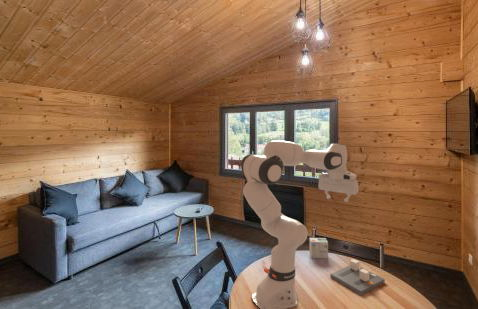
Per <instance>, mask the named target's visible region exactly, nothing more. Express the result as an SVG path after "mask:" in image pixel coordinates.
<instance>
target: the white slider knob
mask: <svg viewBox="0 0 478 309" xmlns="http://www.w3.org/2000/svg"><path fill="white" fill-rule="evenodd" d="M349 266H350V268H351V269H353V270H355V271H357V270H359V267H360V261H359V260H357V259H354V258H353V259H351V260H350V261H349Z"/></svg>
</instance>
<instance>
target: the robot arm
mask: <svg viewBox="0 0 478 309" xmlns="http://www.w3.org/2000/svg"><path fill="white" fill-rule="evenodd" d="M263 149H264V150H263V153H262V154H256V153H250V154H246V155H245V156H244V157H242V159H241V161H240V170H241V173H242V176H243V177H242V178H243V179H244V180H245V181H246V183H245V184H244V185H243V189H242V192H243V196H244V197H245V200H246V201H247V203H248V205H249V206H250V207H251V209H252V210H253V211H254V212H255V214H256V215H257V216H258V217H259V219H260V224H261V227H262V229H263V231H265V232H266V233H268V235H270V236H272V237H274V238H277V240H278V244H276V245H275V246H273V248H272V249H271V252H270V259H271V261H270V265H269V268H268V267H265V268H264V269H263V271H264V273H266V275H265V277H264V278H263V279H262V280H261V281H260V282H259V283H258V284H257V287H256V291H255V292H254V293H252V294H251V297H252V298H251V300H253V301H254V303H255V304H256V305H257V306H258V307H259V308H260V309H291V308H294V307H297V306H298V301H297V300H298V297H299V296H298V293H297V288H296V279H295V277H296V266H295V263H296V262H295V261H296V258H295V257H296V252H297V249H298V248H299V247H300V246H302V245H303V244H304V243H305V242H306V240H307V238H308V229H307V227H306V225H304V224H303V223H301V222H300V221H299V220H297V219H294V218H291V217H290V216H289V217H288V216H286V215H285V214H283V213H282V205H281V203H280V202H279V201H278V199H277V198H276V197H275V195H274V194H273V192H272V190H270V188H269V187H268V186H269V185H275V184H277V183H278V182H280V180H281V178H282V176H283V172H284V166H286V167H296V166H299V165H300V164H301V163H302V164H303V165H304V166H306V167H307V168H310V169H318V170H324V171H328V172H321V173H319V175H318V184H317V186H318V187H317V188H318V189H319V190H321V191H324V194H325V195H326V199H327V200H330V199H331V195H330V194H329V192H334V193H340V194H346V197H345V198H344V200H343V201H344V203H348V202H349V199H350V198H351V196H352V195H354V196H356V195H357V194H359V182H358V180H357V177H358V176H357V174H355V173H353V172H350V171H348V168H347V162H348V151H347V146H346V145H345V144H344V143H338V142H337V143H336V142H335V143H334V142H333V143H330V144H329V147H328V148H327V149H325V150H323V149H322V150H321V149H314V148H312V149H308V150H304V148H303V147H302V145H300V144H298V143H295V142H293V141H286V140H277V139H275V140H270V141H269V142H267V143H266V144H265V146H264V148H263ZM254 298H255V299H254ZM253 301H252V302H253ZM254 303H253V304H254ZM255 304H254V305H255ZM256 305H255V306H256ZM257 306H256V307H257ZM258 307H257V308H258ZM259 308H258V309H259Z"/></svg>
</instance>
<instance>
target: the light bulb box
mask: <svg viewBox="0 0 478 309" xmlns="http://www.w3.org/2000/svg"><path fill="white" fill-rule="evenodd" d="M308 239H309V249H308V251H309V252H308V253H309V256H310V258H311V259H329V241H328V239H327V238H326V237H309V238H308Z"/></svg>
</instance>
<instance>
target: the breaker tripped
mask: <svg viewBox="0 0 478 309" xmlns="http://www.w3.org/2000/svg"><path fill="white" fill-rule="evenodd" d="M367 270H368V269H366V270H365V268H364V269H361V270H360V273H359V279H361V280H363V281H365V282H367V281H368V280H369V270H368V271H367Z"/></svg>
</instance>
